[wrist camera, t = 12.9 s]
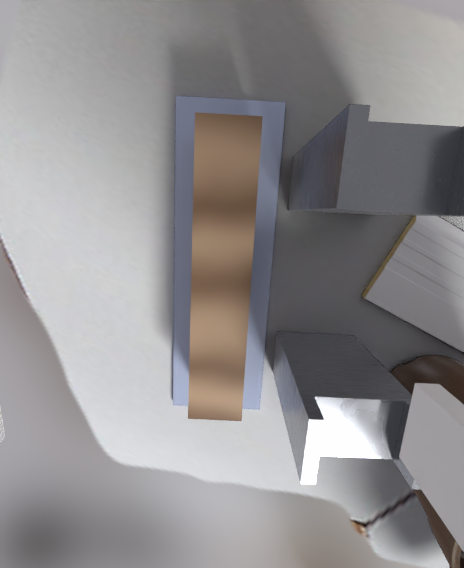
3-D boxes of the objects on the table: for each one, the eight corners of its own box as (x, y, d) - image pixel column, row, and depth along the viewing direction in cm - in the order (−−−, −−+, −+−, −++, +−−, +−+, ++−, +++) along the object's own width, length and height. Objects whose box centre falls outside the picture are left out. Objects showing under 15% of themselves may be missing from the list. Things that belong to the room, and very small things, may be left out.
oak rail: (239, 385, 34) (241, 421, 28) (195, 383, 34) (188, 418, 28) (256, 136, 28) (262, 116, 22) (203, 133, 28) (195, 112, 22)
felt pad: (259, 406, 35) (259, 409, 35) (174, 402, 35) (173, 405, 35) (284, 104, 28) (285, 102, 27) (177, 98, 28) (175, 95, 27)
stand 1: (372, 214, 30) (494, 217, 16) (288, 210, 30) (336, 208, 16) (380, 161, 29) (519, 114, 15) (293, 156, 29) (349, 104, 15)
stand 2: (346, 375, 34) (426, 489, 20) (272, 372, 34) (300, 483, 20) (353, 335, 33) (442, 425, 19) (276, 331, 33) (308, 419, 19)
